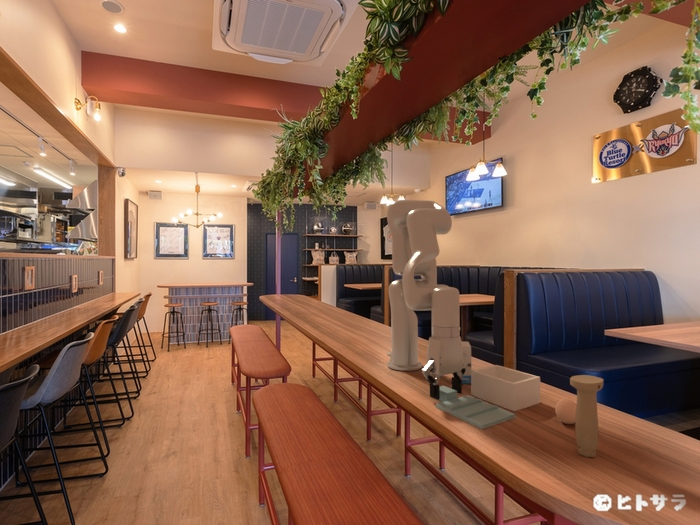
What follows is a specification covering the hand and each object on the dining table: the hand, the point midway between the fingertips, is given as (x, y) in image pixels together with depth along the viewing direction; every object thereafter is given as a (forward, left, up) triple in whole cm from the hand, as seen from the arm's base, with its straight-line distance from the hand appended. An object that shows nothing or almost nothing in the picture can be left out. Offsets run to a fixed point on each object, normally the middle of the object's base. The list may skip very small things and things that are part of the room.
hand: (445, 395), depth 106 cm
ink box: (-10, +18, -2) cm, 20 cm away
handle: (+36, +2, -2) cm, 36 cm away
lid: (+7, 0, -1) cm, 8 cm away
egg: (+26, +14, -2) cm, 29 cm away
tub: (+8, +14, -1) cm, 17 cm away
